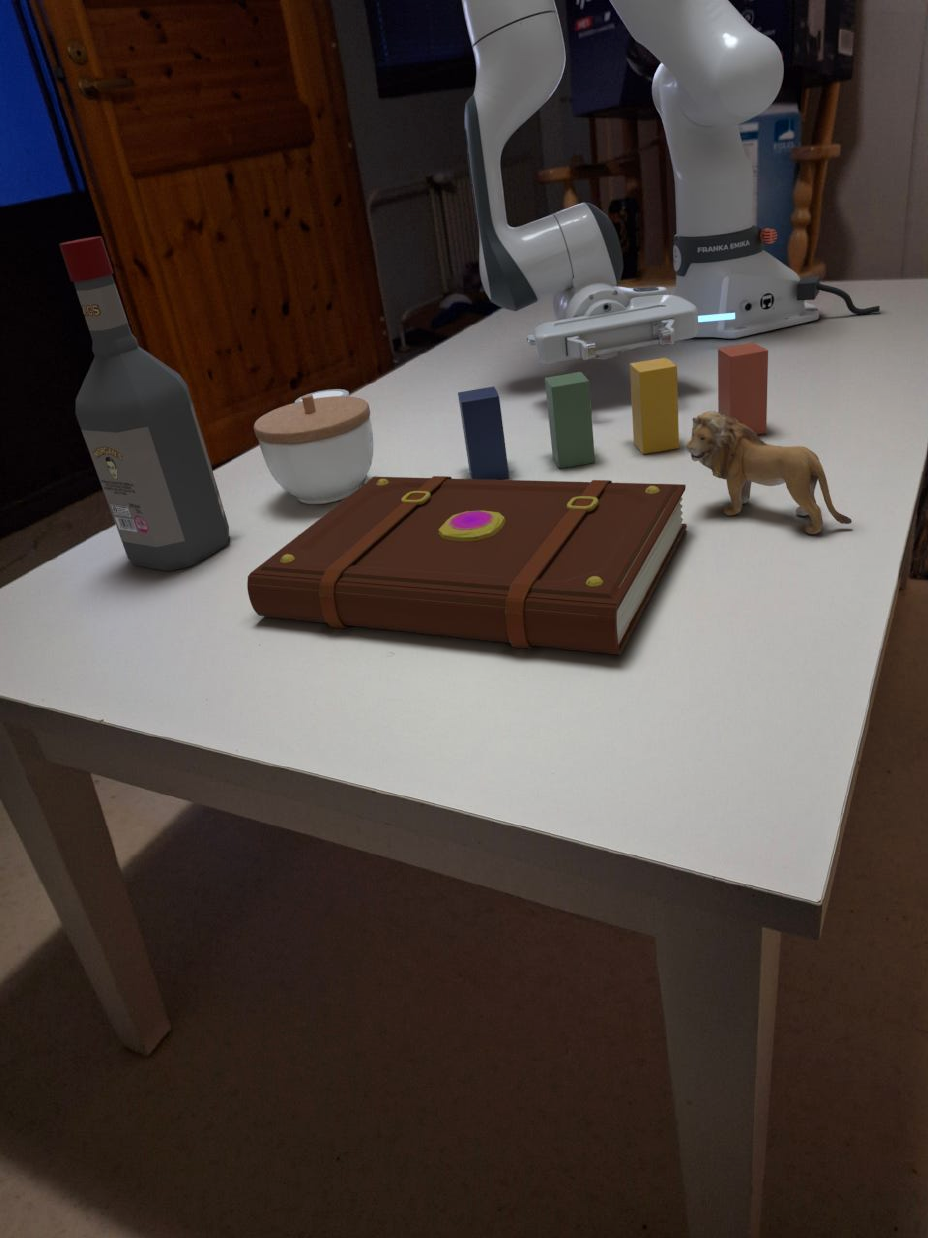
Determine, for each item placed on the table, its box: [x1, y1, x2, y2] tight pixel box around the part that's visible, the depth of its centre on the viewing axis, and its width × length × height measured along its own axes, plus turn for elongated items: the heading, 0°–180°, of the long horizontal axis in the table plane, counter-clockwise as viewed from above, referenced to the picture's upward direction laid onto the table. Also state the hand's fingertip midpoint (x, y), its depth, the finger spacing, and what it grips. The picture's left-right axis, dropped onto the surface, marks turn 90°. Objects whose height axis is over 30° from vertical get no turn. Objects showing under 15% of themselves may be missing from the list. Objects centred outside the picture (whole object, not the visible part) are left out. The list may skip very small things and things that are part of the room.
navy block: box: [457, 386, 510, 480], centre depth 97 cm, size 4×4×9 cm
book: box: [246, 475, 688, 656], centre depth 77 cm, size 23×32×5 cm
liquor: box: [58, 235, 230, 572], centre depth 85 cm, size 9×9×30 cm
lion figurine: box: [685, 410, 853, 535], centre depth 78 cm, size 15×5×9 cm, turn 50°
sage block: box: [544, 371, 596, 469], centre depth 97 cm, size 4×4×9 cm
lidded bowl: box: [253, 393, 375, 505], centre depth 99 cm, size 13×13×11 cm
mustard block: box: [629, 357, 680, 455], centre depth 97 cm, size 4×4×9 cm
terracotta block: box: [717, 342, 769, 436], centre depth 97 cm, size 4×4×9 cm
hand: (629, 345), depth 105 cm, fingers open, 8 cm apart
